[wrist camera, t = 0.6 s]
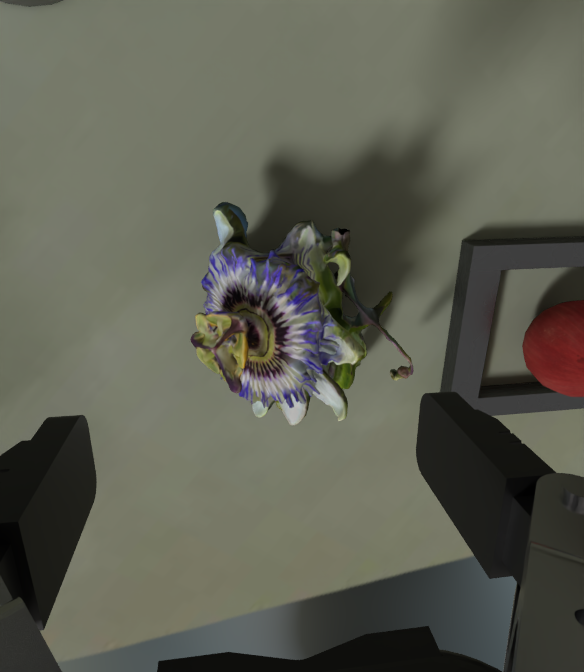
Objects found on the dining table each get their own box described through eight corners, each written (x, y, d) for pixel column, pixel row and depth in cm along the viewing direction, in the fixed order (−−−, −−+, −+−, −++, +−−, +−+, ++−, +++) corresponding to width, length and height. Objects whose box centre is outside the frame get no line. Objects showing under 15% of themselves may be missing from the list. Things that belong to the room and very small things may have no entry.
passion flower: (226, 269, 33) (149, 196, 22) (382, 238, 32) (388, 143, 20) (247, 431, 32) (174, 447, 20) (413, 406, 30) (440, 409, 18)
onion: (554, 266, 31) (657, 310, 23) (594, 322, 33) (699, 379, 26) (483, 327, 32) (560, 387, 25) (526, 378, 34) (609, 447, 27)
